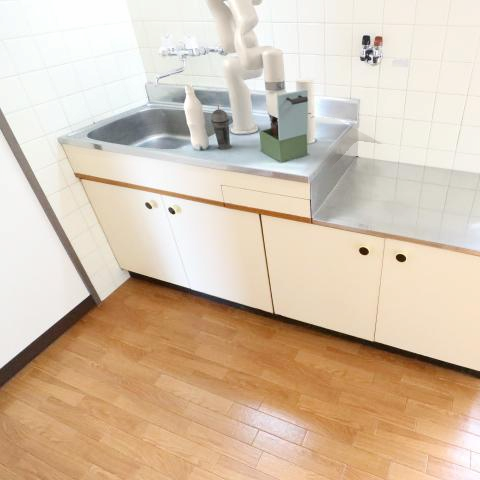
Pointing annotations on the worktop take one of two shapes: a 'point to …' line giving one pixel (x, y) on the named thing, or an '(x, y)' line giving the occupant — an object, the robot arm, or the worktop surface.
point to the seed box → (283, 146)
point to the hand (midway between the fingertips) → (279, 133)
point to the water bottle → (195, 119)
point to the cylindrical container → (308, 85)
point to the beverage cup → (221, 127)
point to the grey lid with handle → (292, 114)
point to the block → (274, 128)
